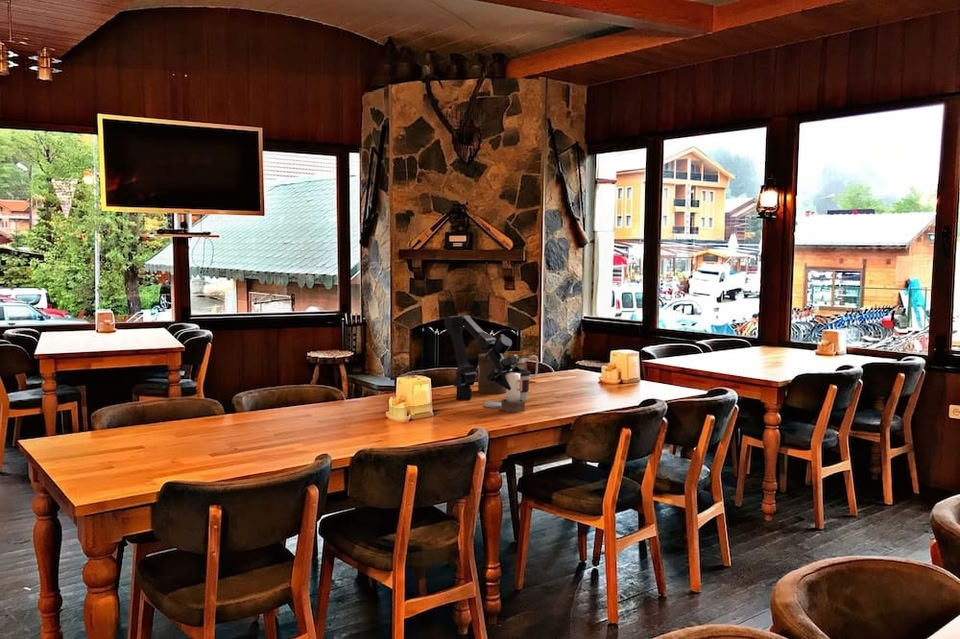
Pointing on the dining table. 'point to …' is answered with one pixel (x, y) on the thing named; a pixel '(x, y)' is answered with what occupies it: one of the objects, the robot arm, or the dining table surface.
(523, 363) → the mug
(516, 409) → the holder
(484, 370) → the wooden container
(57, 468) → the dining table surface
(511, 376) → the jug
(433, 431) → the dining table surface
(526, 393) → the coffee cup
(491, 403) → the plate
